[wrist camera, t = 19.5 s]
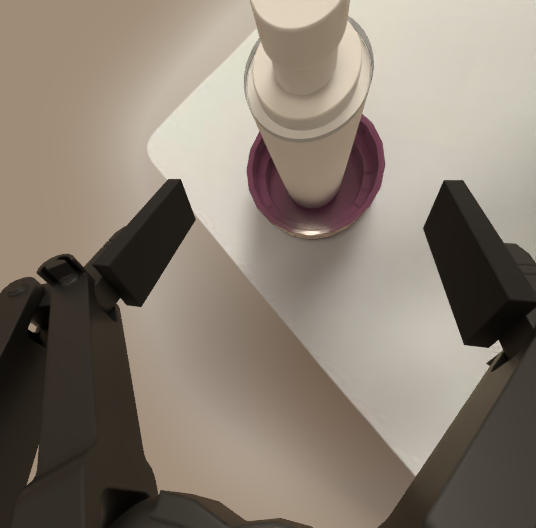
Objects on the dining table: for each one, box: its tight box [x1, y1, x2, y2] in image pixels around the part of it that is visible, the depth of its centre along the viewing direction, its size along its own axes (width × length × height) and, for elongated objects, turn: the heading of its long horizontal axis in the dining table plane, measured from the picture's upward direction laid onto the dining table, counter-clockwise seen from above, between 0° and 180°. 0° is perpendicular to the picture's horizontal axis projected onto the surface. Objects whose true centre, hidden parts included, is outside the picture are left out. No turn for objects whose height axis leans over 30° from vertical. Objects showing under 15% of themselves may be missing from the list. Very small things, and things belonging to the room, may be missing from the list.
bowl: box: [247, 114, 385, 239], centre depth 29 cm, size 14×14×6 cm
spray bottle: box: [244, 0, 374, 209], centre depth 19 cm, size 7×7×25 cm
